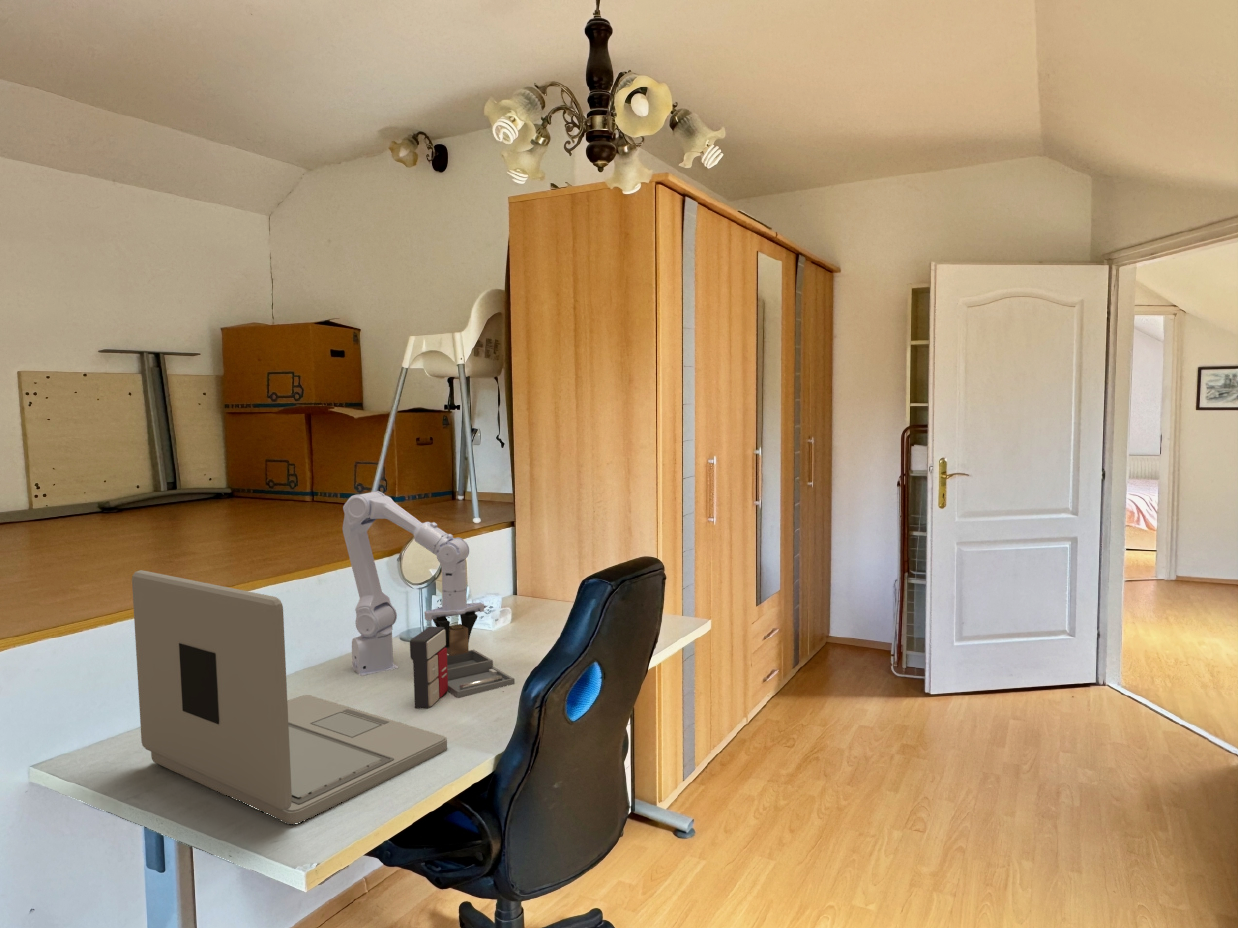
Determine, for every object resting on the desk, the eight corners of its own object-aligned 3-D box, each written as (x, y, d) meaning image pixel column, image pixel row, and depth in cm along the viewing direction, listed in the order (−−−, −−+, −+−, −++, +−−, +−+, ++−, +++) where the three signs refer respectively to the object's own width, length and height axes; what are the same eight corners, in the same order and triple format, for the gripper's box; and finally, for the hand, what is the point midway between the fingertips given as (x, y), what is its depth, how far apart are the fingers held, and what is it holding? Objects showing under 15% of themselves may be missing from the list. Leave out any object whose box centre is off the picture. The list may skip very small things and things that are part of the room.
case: (438, 684, 183) (437, 671, 183) (420, 672, 192) (420, 660, 192) (493, 672, 191) (492, 660, 191) (473, 661, 200) (473, 649, 200)
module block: (451, 655, 188) (450, 629, 187) (443, 651, 192) (442, 625, 191) (468, 652, 190) (467, 626, 190) (460, 647, 194) (460, 622, 194)
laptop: (451, 751, 147) (445, 561, 145) (283, 836, 119) (272, 600, 116) (307, 706, 172) (299, 542, 169) (139, 766, 143) (127, 570, 141)
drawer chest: (431, 710, 167) (428, 640, 166) (411, 709, 168) (409, 640, 167) (450, 691, 178) (447, 626, 177) (431, 690, 179) (429, 626, 178)
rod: (460, 683, 177) (458, 687, 178) (462, 688, 176) (461, 692, 177) (500, 674, 183) (499, 678, 184) (502, 678, 182) (501, 682, 183)
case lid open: (457, 698, 174) (457, 691, 174) (438, 684, 183) (438, 678, 183) (514, 685, 182) (514, 678, 182) (493, 672, 191) (493, 666, 191)
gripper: (431, 596, 183) (433, 654, 184) (489, 588, 191) (490, 643, 192) (420, 591, 188) (422, 647, 189) (476, 583, 197) (477, 636, 198)
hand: (455, 644), depth 191 cm, fingers closed on module block, 4 cm apart
